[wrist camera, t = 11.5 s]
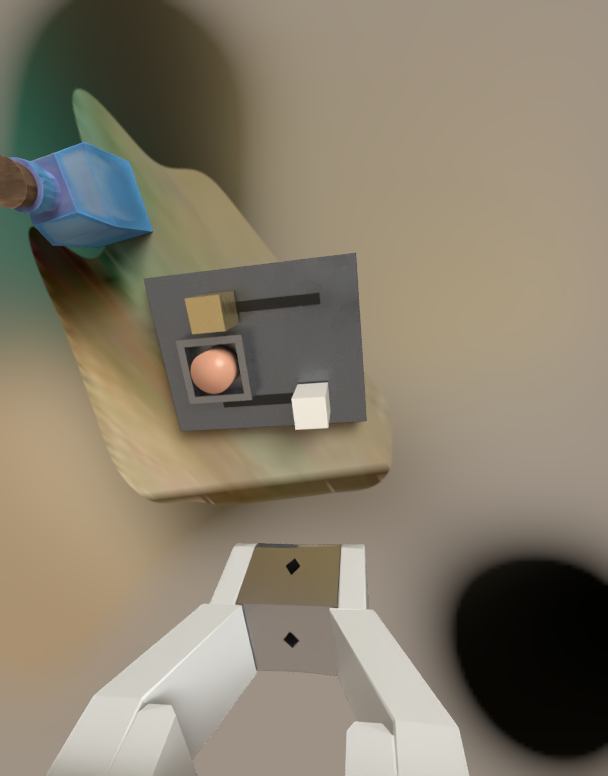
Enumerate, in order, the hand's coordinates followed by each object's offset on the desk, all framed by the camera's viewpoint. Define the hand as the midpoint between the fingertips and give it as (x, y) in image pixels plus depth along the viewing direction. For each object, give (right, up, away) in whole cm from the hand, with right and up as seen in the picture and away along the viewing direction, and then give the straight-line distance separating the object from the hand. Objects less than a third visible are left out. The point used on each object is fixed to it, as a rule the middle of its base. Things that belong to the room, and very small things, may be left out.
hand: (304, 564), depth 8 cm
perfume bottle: (-19, +22, +27) cm, 40 cm away
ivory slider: (+1, +3, +28) cm, 28 cm away
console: (-4, +9, +30) cm, 31 cm away
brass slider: (-8, +12, +26) cm, 29 cm away
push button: (-8, +6, +28) cm, 30 cm away
